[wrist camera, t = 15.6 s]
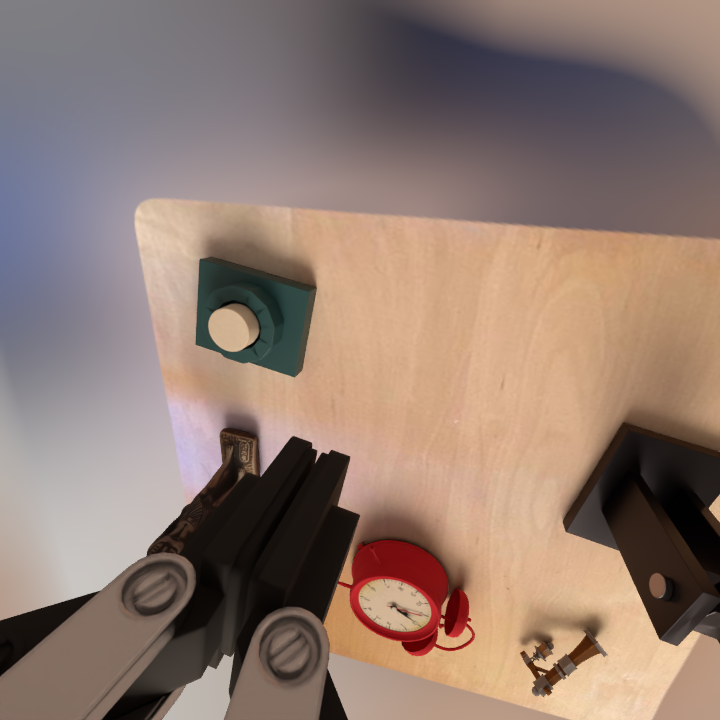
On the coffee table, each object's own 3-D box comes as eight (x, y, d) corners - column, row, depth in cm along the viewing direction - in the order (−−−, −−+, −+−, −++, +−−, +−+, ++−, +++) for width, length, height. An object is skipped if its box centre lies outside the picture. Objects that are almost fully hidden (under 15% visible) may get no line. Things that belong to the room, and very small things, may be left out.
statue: (261, 430, 39) (90, 618, 21) (265, 485, 42) (116, 694, 24) (225, 423, 40) (32, 598, 22) (231, 478, 43) (62, 673, 25)
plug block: (211, 256, 34) (185, 261, 31) (317, 287, 32) (301, 296, 29) (206, 339, 37) (182, 351, 34) (302, 370, 36) (286, 386, 32)
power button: (222, 297, 31) (209, 302, 30) (262, 310, 31) (251, 315, 29) (218, 337, 33) (206, 344, 31) (257, 350, 32) (246, 357, 31)
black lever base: (623, 422, 30) (709, 539, 20) (733, 456, 29) (888, 599, 18) (562, 521, 35) (605, 661, 24) (655, 554, 34) (744, 715, 23)
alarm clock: (375, 542, 36) (497, 674, 34) (397, 506, 42) (503, 616, 39) (317, 590, 41) (420, 709, 38) (343, 551, 46) (435, 653, 44)
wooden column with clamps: (510, 654, 41) (532, 696, 36) (569, 608, 41) (599, 644, 36) (519, 665, 41) (542, 708, 37) (578, 619, 41) (609, 657, 37)
